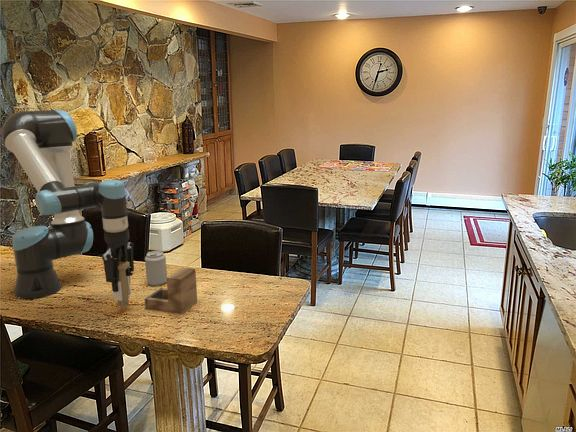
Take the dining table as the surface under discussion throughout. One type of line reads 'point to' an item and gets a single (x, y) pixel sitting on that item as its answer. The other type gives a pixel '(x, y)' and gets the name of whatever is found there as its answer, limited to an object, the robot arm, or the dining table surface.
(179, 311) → the wooden stand
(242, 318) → the dining table surface
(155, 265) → the can
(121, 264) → the handle
